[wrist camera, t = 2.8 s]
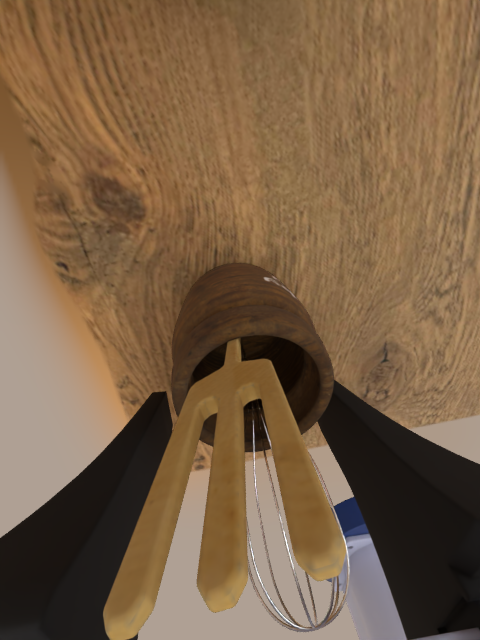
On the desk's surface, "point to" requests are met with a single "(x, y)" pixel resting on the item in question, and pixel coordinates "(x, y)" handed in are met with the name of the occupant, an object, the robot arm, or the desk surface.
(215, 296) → the utensil holder
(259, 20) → the desk surface
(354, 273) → the desk surface
